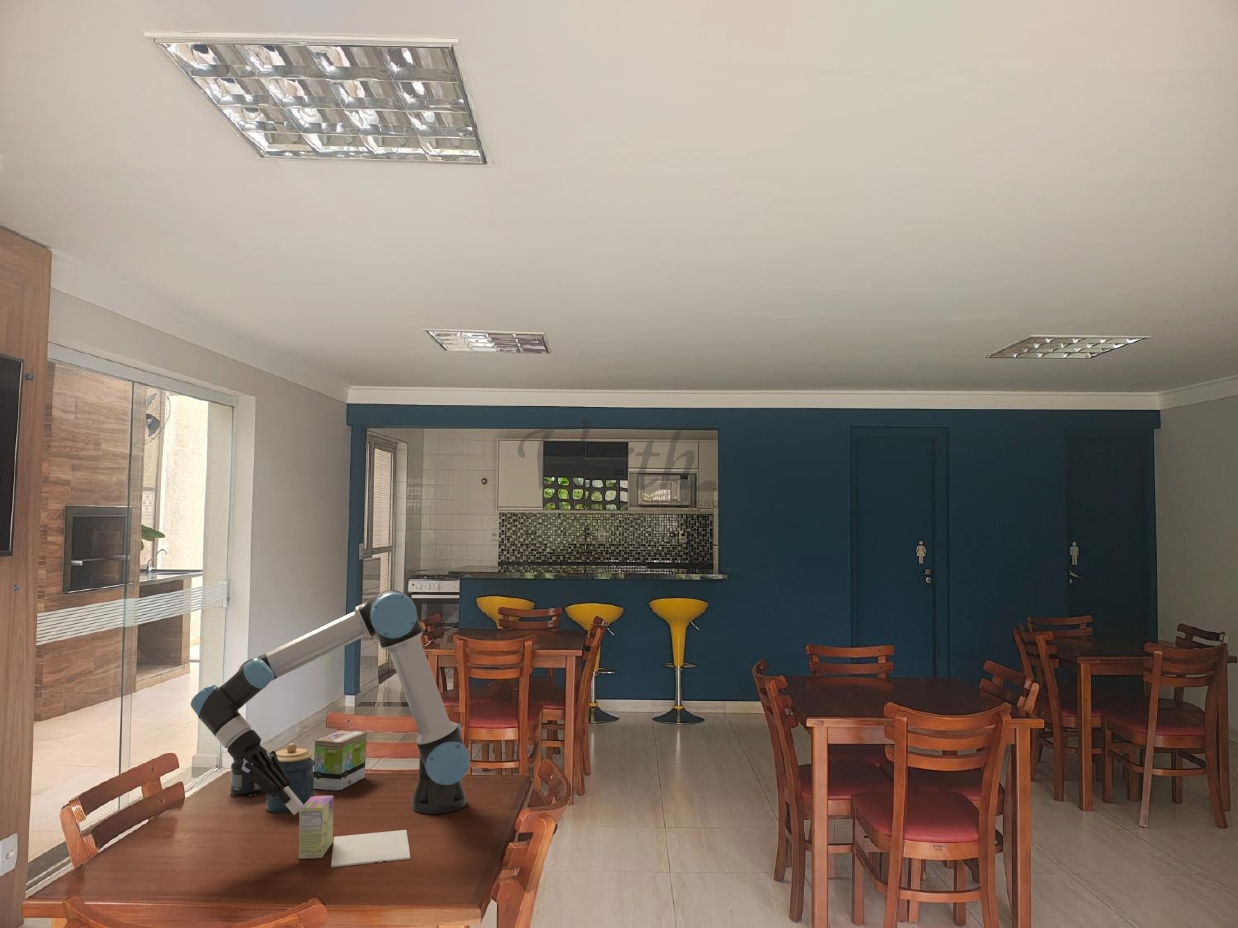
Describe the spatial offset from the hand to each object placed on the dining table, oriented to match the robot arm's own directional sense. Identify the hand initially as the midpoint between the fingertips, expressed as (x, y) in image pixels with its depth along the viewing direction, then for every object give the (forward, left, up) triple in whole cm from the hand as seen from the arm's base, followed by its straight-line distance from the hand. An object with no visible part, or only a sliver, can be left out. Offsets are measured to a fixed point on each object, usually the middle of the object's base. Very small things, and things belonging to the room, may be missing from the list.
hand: (299, 810), depth 209 cm
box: (-4, +2, -10) cm, 11 cm away
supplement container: (+18, -55, -10) cm, 59 cm away
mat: (-17, +4, -10) cm, 20 cm away
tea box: (-8, -57, -10) cm, 59 cm away
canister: (+5, -37, -10) cm, 39 cm away
